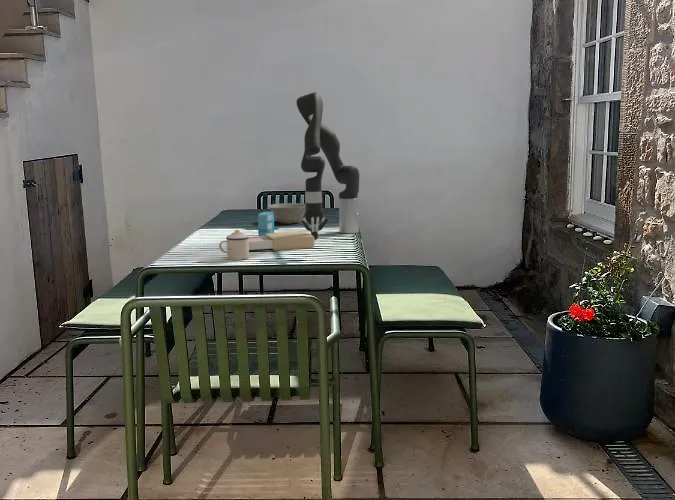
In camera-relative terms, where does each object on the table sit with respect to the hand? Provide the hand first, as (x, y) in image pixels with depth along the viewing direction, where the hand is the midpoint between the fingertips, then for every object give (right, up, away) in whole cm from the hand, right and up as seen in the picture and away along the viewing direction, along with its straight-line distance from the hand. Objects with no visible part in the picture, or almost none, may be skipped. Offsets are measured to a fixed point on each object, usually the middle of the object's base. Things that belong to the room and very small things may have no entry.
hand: (314, 239), depth 297 cm
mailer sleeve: (-11, -3, -3) cm, 12 cm away
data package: (-24, +1, +22) cm, 32 cm away
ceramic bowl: (-17, +10, +72) cm, 75 cm away
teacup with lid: (-31, -8, -31) cm, 44 cm away
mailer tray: (-17, -2, -5) cm, 18 cm away
